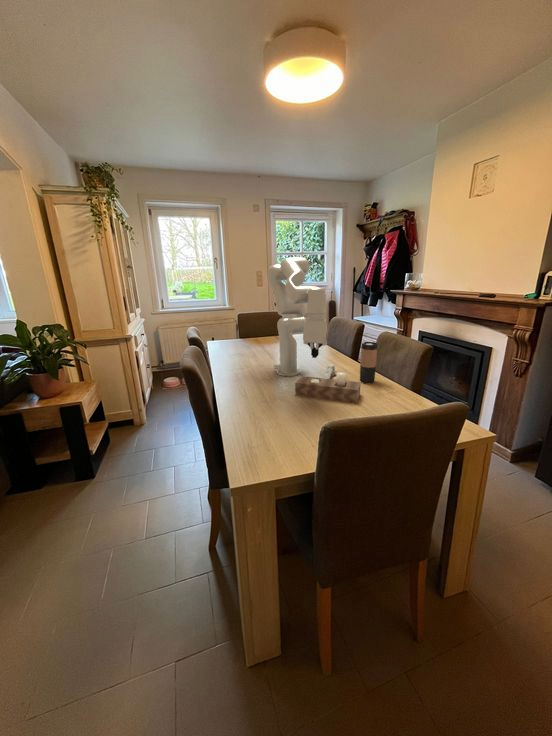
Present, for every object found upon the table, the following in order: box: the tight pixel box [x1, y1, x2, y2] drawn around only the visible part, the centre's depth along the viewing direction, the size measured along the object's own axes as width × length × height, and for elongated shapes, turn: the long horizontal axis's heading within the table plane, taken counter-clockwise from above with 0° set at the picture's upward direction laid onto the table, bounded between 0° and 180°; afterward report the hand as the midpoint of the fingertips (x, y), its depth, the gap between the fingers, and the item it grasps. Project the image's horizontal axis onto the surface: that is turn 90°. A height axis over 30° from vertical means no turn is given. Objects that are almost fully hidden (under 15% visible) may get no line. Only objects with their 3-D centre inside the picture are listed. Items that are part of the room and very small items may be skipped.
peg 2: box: [335, 371, 347, 386], centre depth 137 cm, size 4×4×6 cm
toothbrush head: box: [321, 363, 337, 379], centre depth 159 cm, size 5×7×25 cm
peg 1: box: [311, 379, 319, 383], centre depth 143 cm, size 4×4×6 cm
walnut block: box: [294, 375, 362, 404], centre depth 140 cm, size 28×10×6 cm, turn 68°
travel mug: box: [359, 341, 378, 384], centre depth 154 cm, size 8×8×20 cm
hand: (314, 357), depth 139 cm, fingers closed
